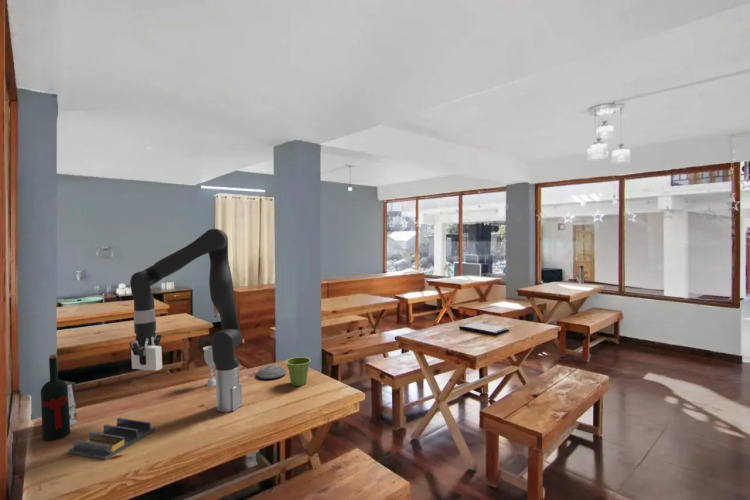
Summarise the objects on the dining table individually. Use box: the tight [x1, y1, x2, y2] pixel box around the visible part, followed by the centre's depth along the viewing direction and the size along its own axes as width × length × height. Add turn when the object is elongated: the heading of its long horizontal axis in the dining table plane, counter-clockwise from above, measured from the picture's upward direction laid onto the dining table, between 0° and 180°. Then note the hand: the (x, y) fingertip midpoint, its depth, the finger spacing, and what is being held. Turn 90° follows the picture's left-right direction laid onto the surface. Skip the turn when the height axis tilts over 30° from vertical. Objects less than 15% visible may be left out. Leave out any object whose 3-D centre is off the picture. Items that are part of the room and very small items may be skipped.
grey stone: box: [255, 364, 287, 380], centre depth 201 cm, size 15×15×6 cm
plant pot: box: [285, 356, 312, 387], centre depth 189 cm, size 12×12×11 cm
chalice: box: [202, 345, 216, 387], centre depth 189 cm, size 7×7×18 cm
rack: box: [68, 417, 156, 461], centre depth 139 cm, size 16×20×4 cm
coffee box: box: [41, 380, 78, 427], centre depth 150 cm, size 9×6×16 cm
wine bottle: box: [40, 353, 71, 442], centre depth 141 cm, size 8×10×30 cm
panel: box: [130, 345, 163, 371], centre depth 157 cm, size 12×3×9 cm, turn 75°
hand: (147, 362), depth 157 cm, fingers closed on panel, 3 cm apart
